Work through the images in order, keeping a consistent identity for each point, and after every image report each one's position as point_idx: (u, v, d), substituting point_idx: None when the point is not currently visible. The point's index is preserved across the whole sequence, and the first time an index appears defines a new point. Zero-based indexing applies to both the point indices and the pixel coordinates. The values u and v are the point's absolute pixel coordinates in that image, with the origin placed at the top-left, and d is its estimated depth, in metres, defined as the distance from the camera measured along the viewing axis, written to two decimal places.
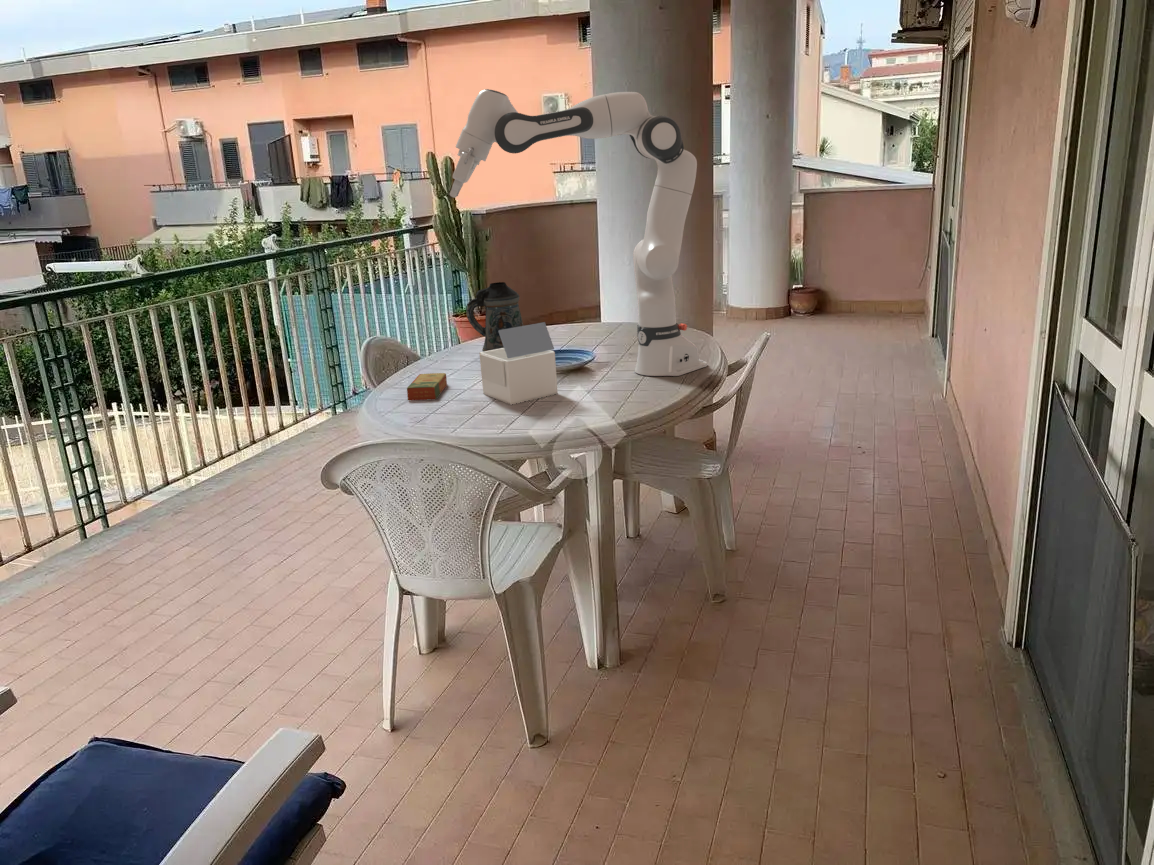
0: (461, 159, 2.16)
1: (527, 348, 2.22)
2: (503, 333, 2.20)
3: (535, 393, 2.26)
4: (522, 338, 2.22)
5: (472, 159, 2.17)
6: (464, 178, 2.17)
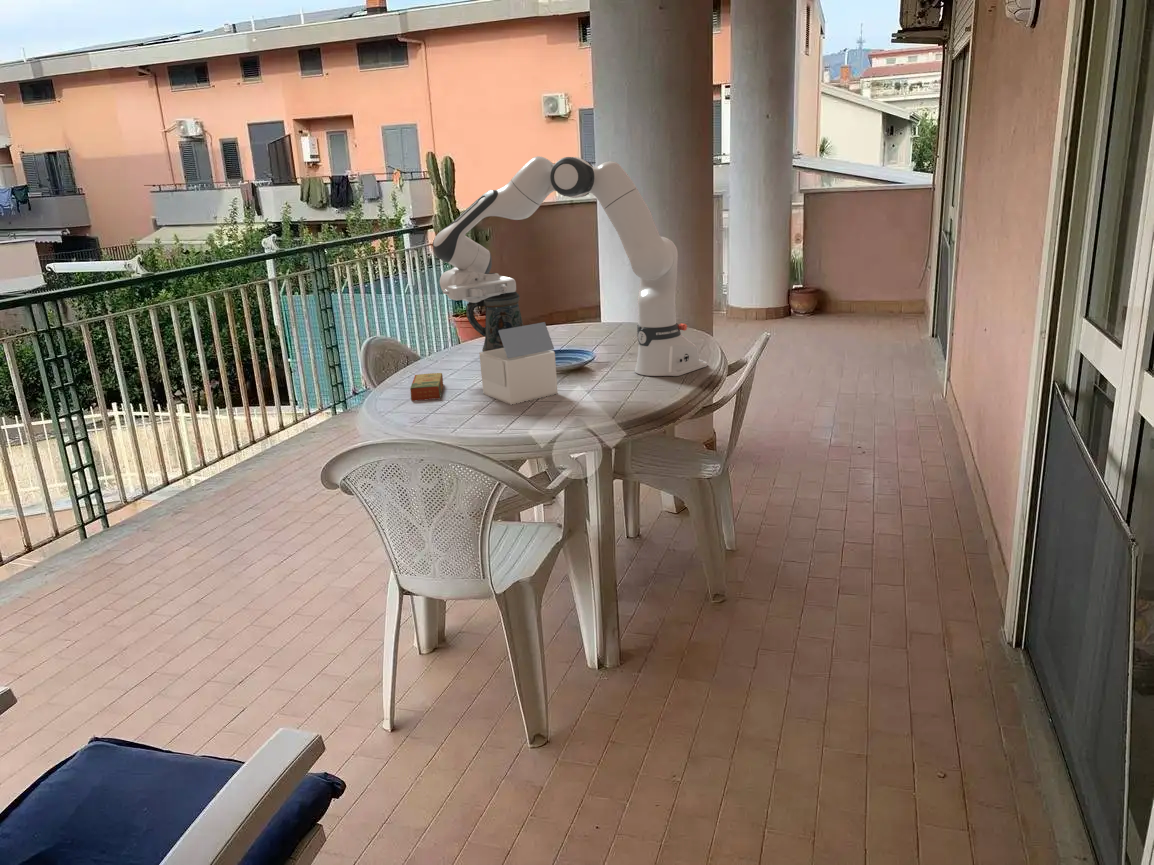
0: (448, 296, 2.35)
1: (527, 348, 2.22)
2: (503, 333, 2.20)
3: (535, 393, 2.26)
4: (522, 338, 2.22)
5: (447, 287, 2.36)
6: (452, 289, 2.31)
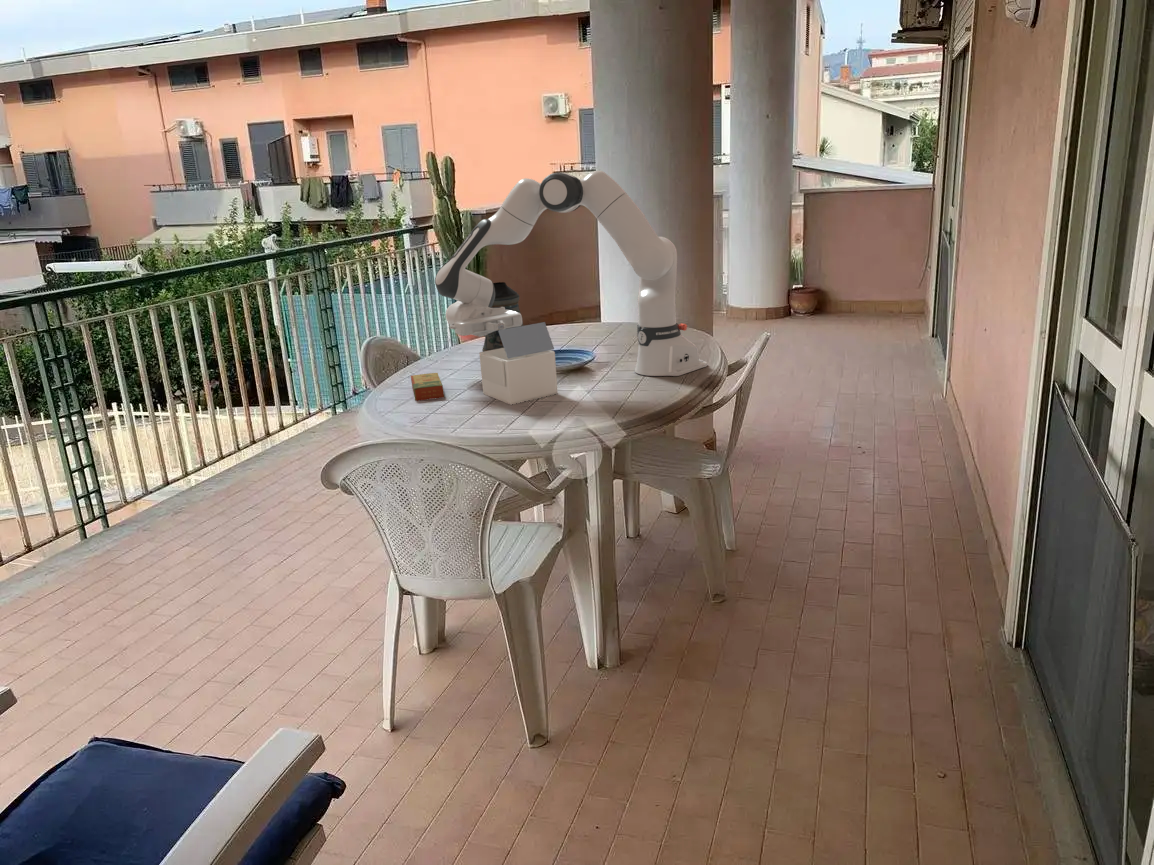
0: (455, 331, 2.37)
1: (527, 348, 2.22)
2: (503, 333, 2.20)
3: (535, 393, 2.26)
4: (522, 338, 2.22)
5: (454, 322, 2.37)
6: (459, 325, 2.32)
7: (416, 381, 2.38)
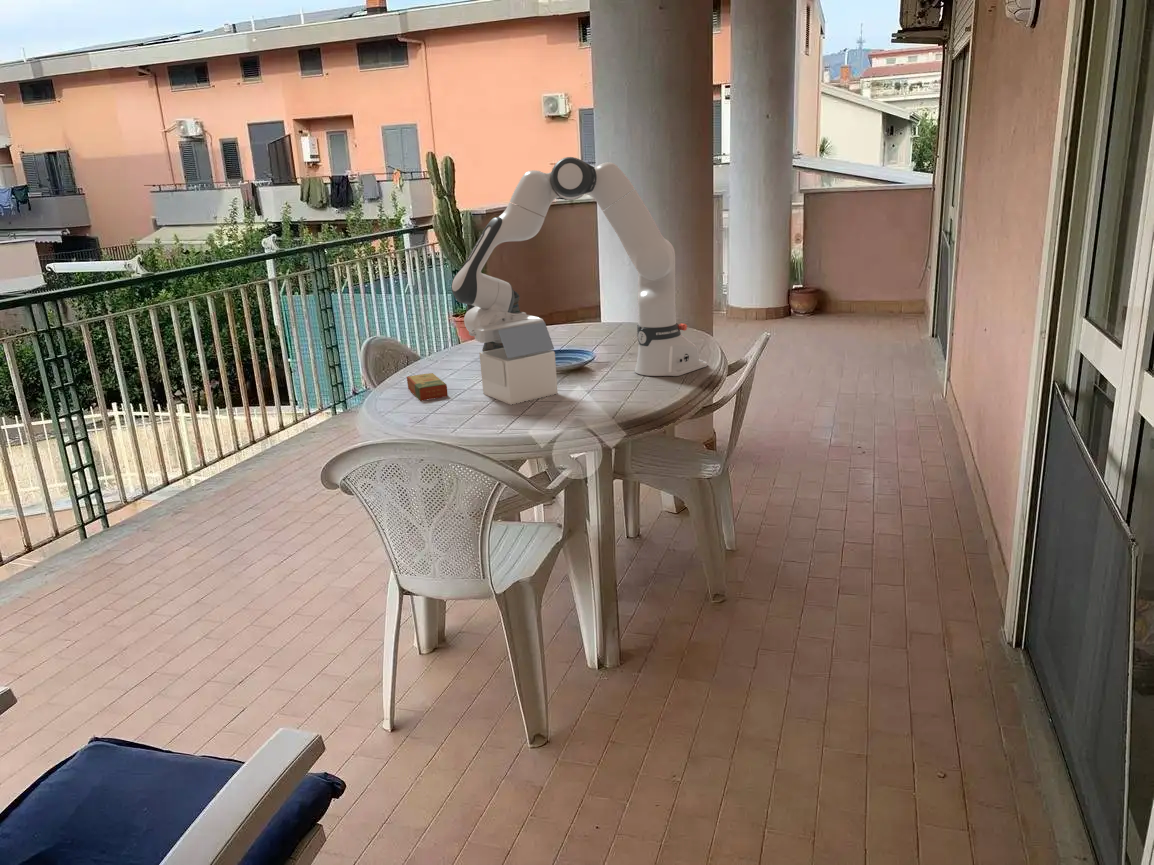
0: (475, 338, 2.27)
1: (527, 348, 2.22)
2: (503, 333, 2.20)
3: (535, 393, 2.26)
4: (522, 338, 2.22)
5: (474, 328, 2.27)
6: (480, 331, 2.23)
7: (416, 381, 2.38)
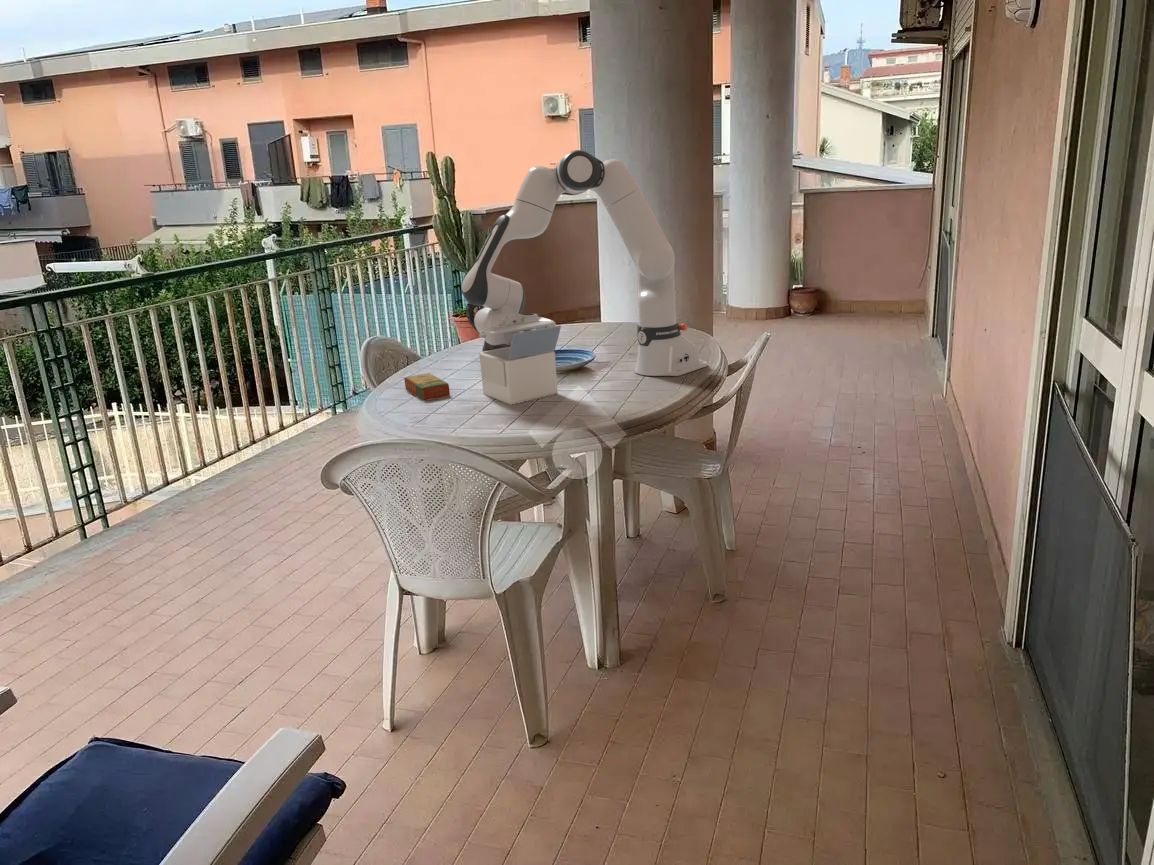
0: (485, 340, 2.22)
1: (531, 350, 2.20)
2: (516, 337, 2.14)
3: (535, 393, 2.26)
4: (531, 341, 2.18)
5: (484, 330, 2.22)
6: (490, 333, 2.18)
7: (416, 382, 2.38)
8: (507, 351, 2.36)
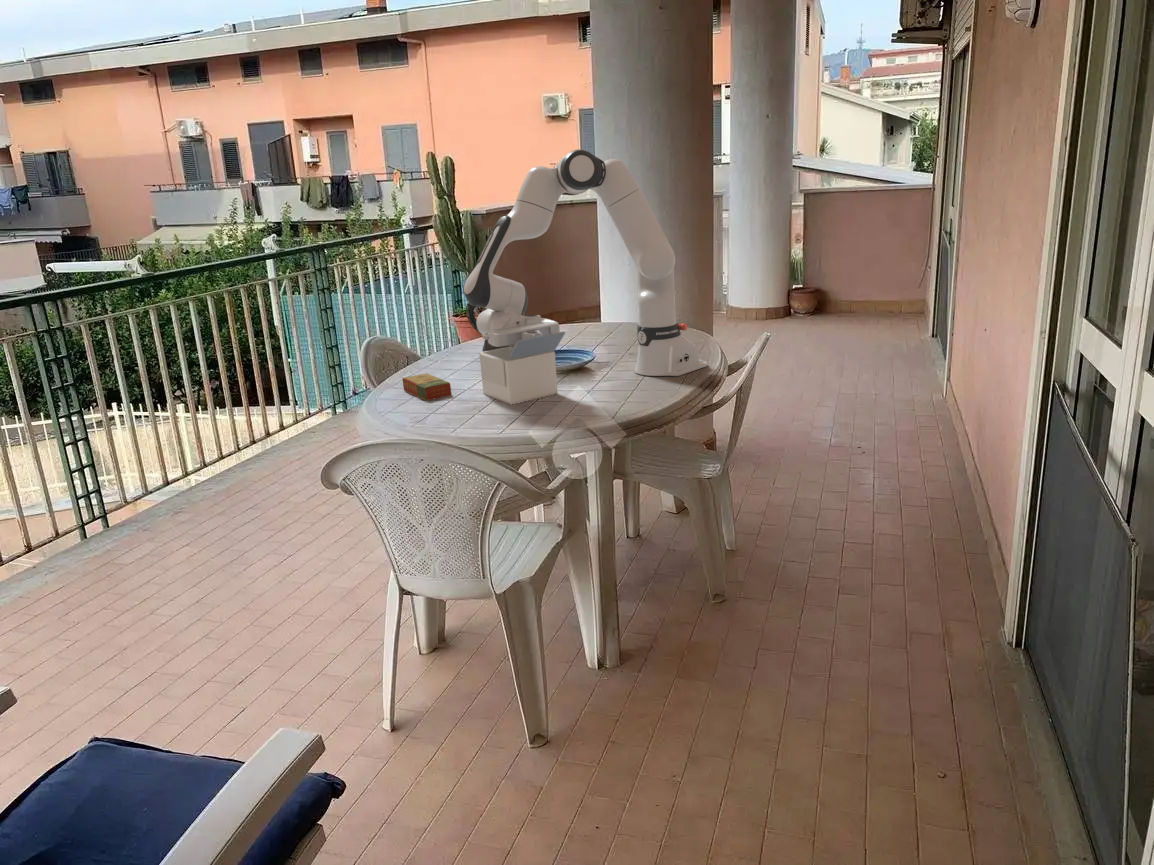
0: (488, 342, 2.20)
1: (531, 352, 2.20)
2: (519, 343, 2.13)
3: (535, 393, 2.26)
4: (533, 345, 2.18)
5: (487, 332, 2.21)
6: (493, 335, 2.16)
7: (417, 382, 2.38)
8: (507, 351, 2.36)
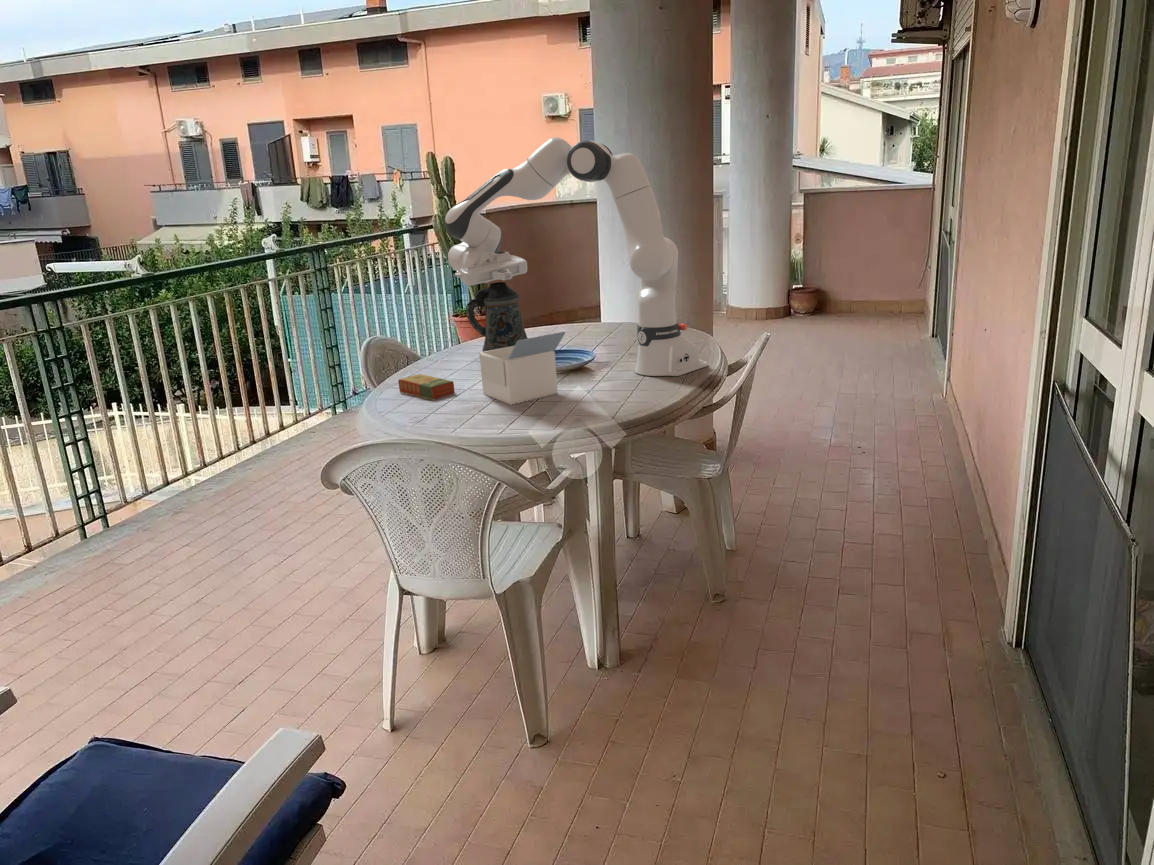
0: (461, 280, 2.35)
1: (531, 352, 2.20)
2: (519, 343, 2.13)
3: (535, 393, 2.26)
4: (533, 345, 2.18)
5: (459, 270, 2.35)
6: (466, 274, 2.31)
7: (418, 382, 2.37)
8: (507, 351, 2.36)
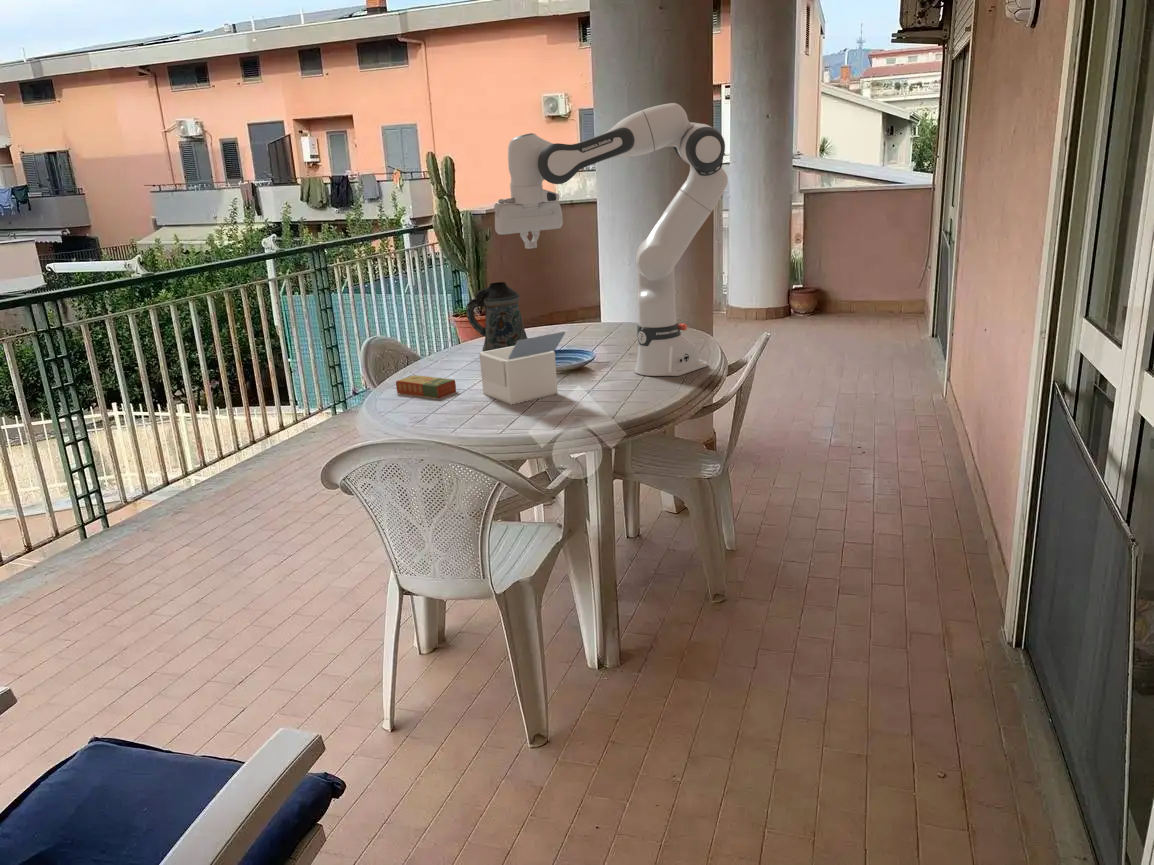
0: (495, 213, 2.23)
1: (531, 352, 2.20)
2: (519, 343, 2.13)
3: (535, 393, 2.26)
4: (533, 345, 2.18)
5: (501, 209, 2.21)
6: (500, 229, 2.22)
7: (419, 382, 2.37)
8: (507, 351, 2.36)
